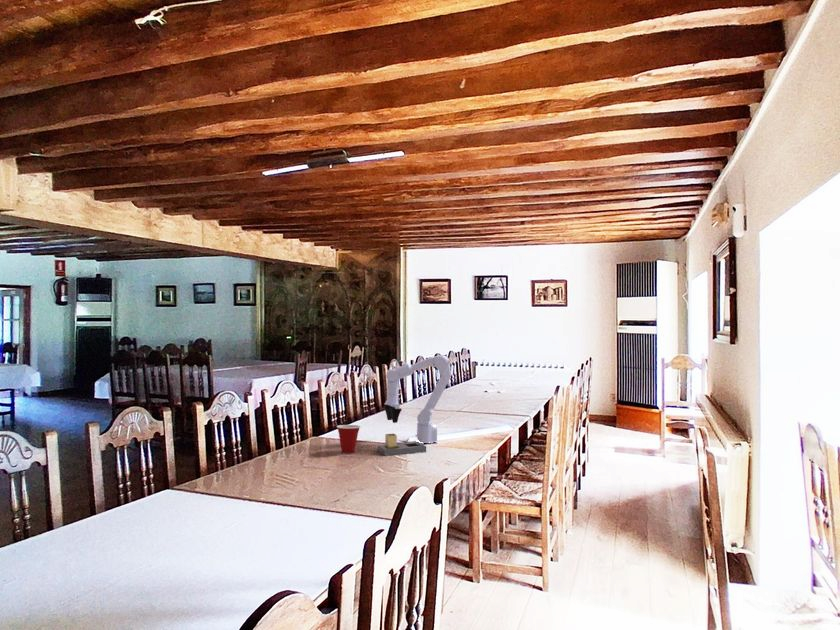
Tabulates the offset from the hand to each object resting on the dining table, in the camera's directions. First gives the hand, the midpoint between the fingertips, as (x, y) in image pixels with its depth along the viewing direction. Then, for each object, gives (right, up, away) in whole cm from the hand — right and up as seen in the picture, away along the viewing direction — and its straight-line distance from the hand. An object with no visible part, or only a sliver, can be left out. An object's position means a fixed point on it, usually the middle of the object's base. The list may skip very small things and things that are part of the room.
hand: (392, 421), depth 268 cm
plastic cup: (-19, -10, -22) cm, 31 cm away
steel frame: (+5, -10, -21) cm, 23 cm away
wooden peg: (+1, -10, -23) cm, 25 cm away
